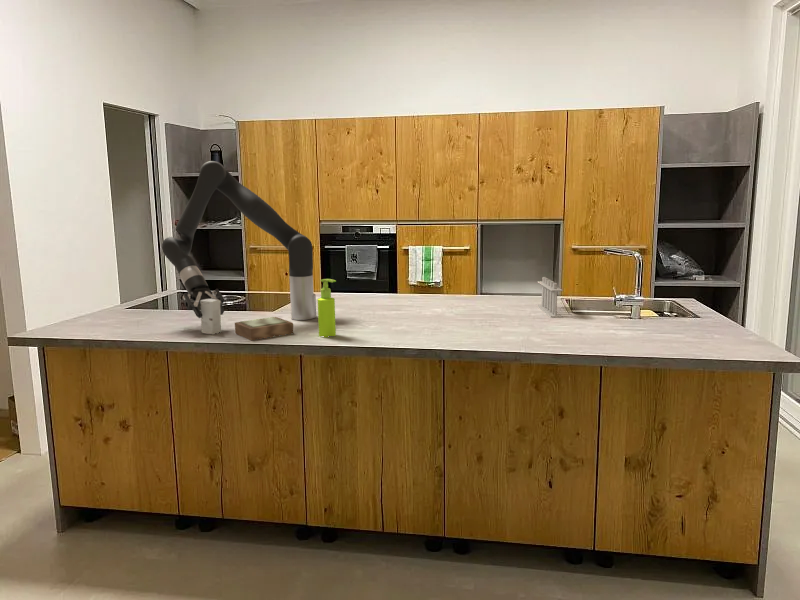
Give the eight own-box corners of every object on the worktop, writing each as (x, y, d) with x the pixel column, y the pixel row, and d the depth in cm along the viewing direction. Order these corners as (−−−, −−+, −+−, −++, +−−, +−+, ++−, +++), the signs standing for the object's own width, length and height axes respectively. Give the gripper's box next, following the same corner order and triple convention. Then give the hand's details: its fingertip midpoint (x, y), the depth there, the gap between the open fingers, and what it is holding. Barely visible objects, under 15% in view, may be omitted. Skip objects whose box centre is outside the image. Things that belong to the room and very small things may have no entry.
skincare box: (201, 333, 223) (198, 300, 221) (210, 330, 227) (208, 298, 225) (213, 334, 220) (211, 301, 218) (222, 332, 224) (220, 299, 222)
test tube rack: (562, 317, 241) (563, 284, 238) (550, 318, 241) (551, 284, 238) (546, 306, 265) (547, 276, 263) (536, 306, 265) (537, 276, 263)
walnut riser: (276, 327, 231) (275, 315, 230) (293, 333, 220) (292, 321, 219) (235, 333, 221) (234, 321, 220) (251, 340, 210) (250, 327, 209)
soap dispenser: (331, 338, 211) (329, 280, 208) (315, 336, 215) (313, 279, 211) (341, 335, 216) (339, 278, 213) (325, 333, 220) (323, 277, 216)
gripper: (178, 276, 220) (196, 311, 214) (214, 272, 230) (232, 305, 224) (172, 289, 224) (190, 324, 219) (208, 285, 235) (225, 318, 229)
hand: (211, 315), depth 222 cm, fingers open, 8 cm apart
